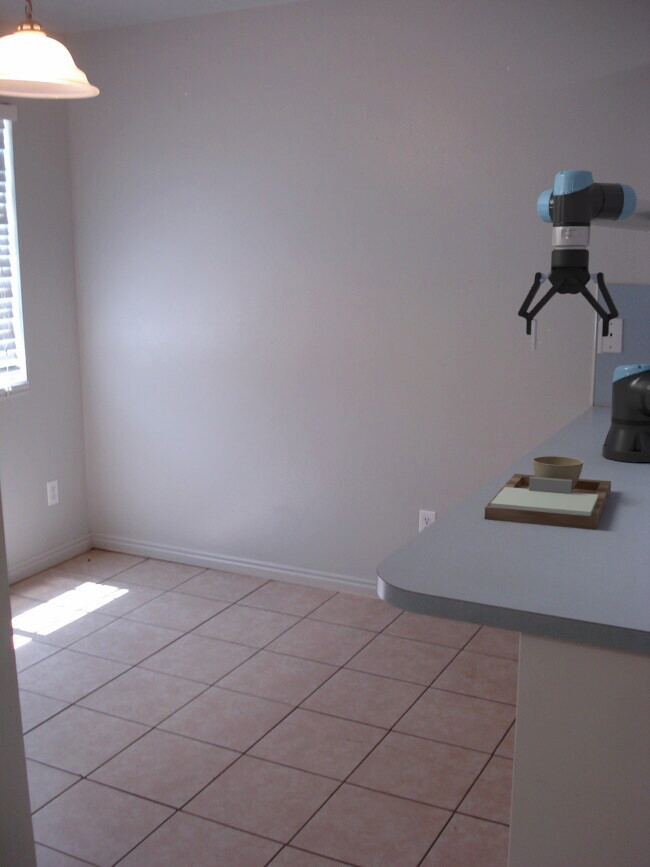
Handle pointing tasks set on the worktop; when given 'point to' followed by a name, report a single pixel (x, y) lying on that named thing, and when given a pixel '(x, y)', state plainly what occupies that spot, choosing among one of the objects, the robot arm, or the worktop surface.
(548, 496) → the lid
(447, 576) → the worktop surface
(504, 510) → the wooden box
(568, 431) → the worktop surface
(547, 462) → the flower pot
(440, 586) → the worktop surface
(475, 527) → the worktop surface
